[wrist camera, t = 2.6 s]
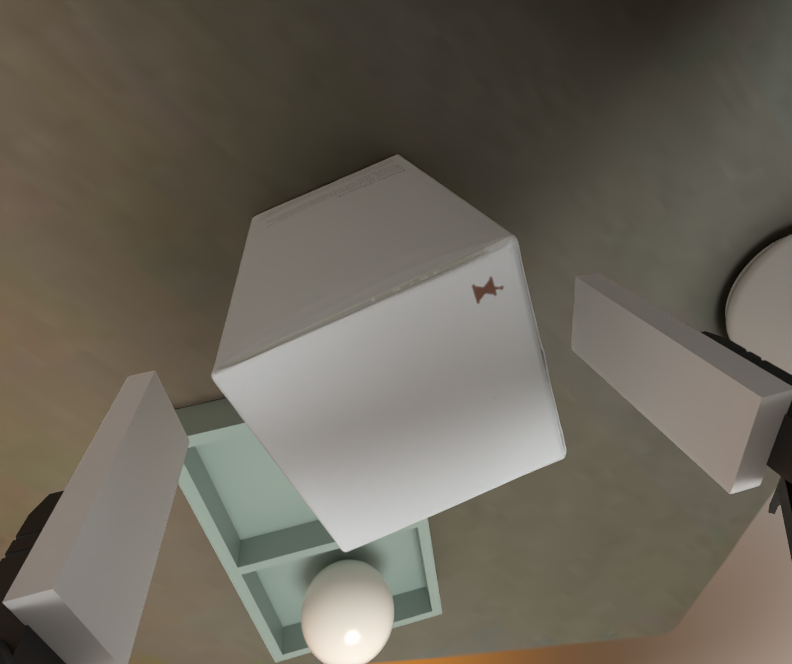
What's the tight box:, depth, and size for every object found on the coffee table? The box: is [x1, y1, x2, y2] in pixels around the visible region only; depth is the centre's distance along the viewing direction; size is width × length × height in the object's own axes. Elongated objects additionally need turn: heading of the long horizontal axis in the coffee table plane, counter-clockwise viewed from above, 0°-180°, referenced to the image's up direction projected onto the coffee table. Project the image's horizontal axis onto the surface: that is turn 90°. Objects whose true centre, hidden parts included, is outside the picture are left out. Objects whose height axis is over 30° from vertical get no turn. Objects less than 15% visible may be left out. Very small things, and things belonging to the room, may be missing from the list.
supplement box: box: [211, 154, 566, 552], centre depth 17 cm, size 7×7×13 cm
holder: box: [175, 398, 442, 663], centre depth 29 cm, size 21×12×2 cm, turn 8°
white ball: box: [301, 559, 394, 664], centre depth 29 cm, size 6×6×6 cm
